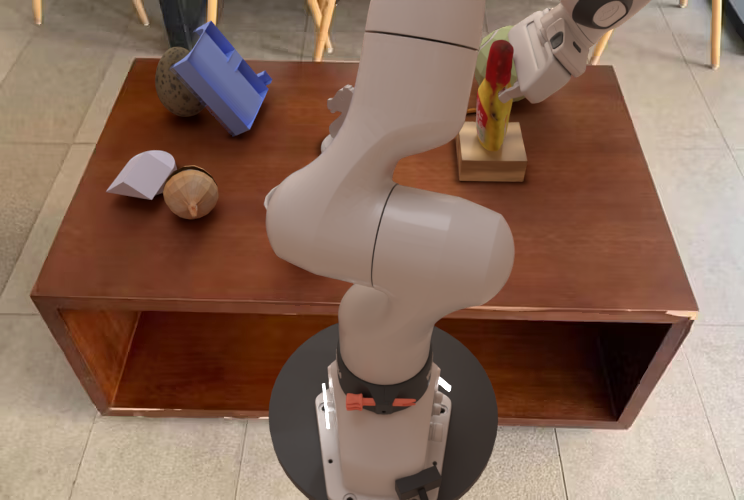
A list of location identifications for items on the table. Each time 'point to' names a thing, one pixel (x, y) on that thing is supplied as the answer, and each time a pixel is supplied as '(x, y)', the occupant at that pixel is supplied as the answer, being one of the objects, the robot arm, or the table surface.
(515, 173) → the birch block
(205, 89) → the blue plastic box
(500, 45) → the bottle
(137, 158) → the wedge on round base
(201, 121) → the table surface
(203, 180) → the acorn
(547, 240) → the table surface
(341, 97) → the chess piece
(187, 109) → the decorative egg
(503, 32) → the decorative sphere
